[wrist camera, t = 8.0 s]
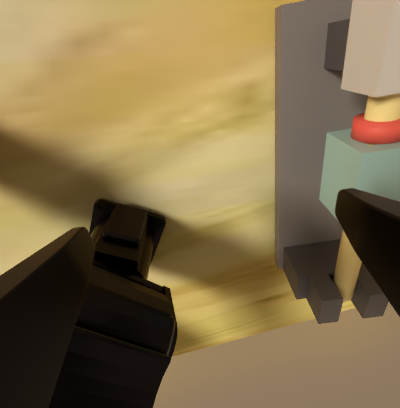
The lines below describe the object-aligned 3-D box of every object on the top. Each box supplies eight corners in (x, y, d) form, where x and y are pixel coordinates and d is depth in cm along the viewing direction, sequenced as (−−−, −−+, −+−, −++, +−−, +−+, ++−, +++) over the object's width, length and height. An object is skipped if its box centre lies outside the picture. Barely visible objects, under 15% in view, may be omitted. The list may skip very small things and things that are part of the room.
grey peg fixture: (349, 250, 26) (400, 313, 20) (275, 260, 27) (301, 325, 20) (409, -19, 15) (577, -73, 8) (275, 8, 15) (337, -24, 9)
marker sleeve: (371, 191, 18) (412, 222, 14) (319, 199, 18) (347, 231, 15) (389, 122, 15) (442, 140, 12) (326, 132, 15) (363, 153, 12)
